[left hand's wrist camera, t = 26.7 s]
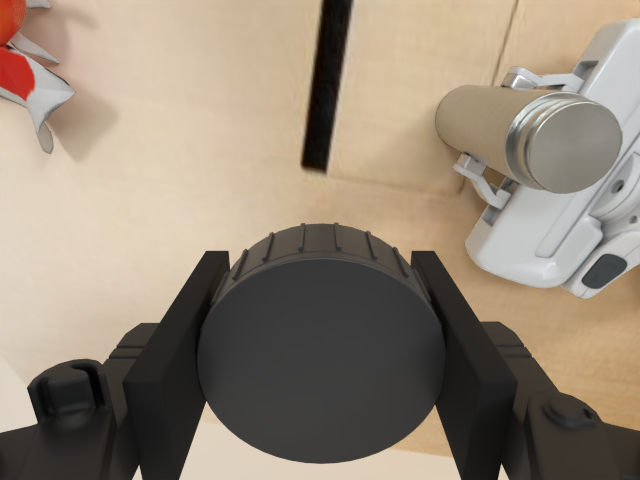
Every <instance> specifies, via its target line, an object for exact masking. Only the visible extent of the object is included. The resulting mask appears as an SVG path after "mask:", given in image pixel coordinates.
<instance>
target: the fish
mask: <svg viewBox="0 0 640 480" xmlns="http://www.w3.org/2000/svg"><path fill="white" fill-rule="evenodd" d="M26 6H27V7H28V8H50V3H49V2H48V1H47V0H0V97H2V98H5V99H8V100H10V101H13V102H16V103H18V104H20V105H22V106H24V107H26V108H27V109H28V111H29V113H30V115H31V118H32V120H33V123H34V126H35V130H36V134H37V136H38V139H39V142H40V145H41V147H42V149H43V151H45V152H46V153H49V154H51V152H52V150H53V139H52V134H51V131H50V130H49V128H48V127H47V125H46V124H45V122H44V121H45V120H46V119H47V118H48V116H49V115H50V114H51V113H52V112H53V111H54V110H55V109H57V108H58V107H59V106H60V105H62V104H63V103H64V102H65V101H67V100H68V99H69V98H70V97H71V96H72V95H73V94H75V93H76V92H75V91H74V90H73V89H72V88H71V87H70V86H69V84H68V83H67V82H66V81H65V80H64V79H62V78H60V77H59V76H57V75H56V74H54V73H52V72H51V71H49V70H48V69H46V68H44V67H43V66H42V65H40V64H39V63H37V62H36V61H34V60H33V59H31V58H29V57H28V56H26V55H24V54H23V53H21V52H19V51H17V50H16V49H14V48H12V47H10V46H9V45H6V44H7V43H8V41H10V42H11V44H12V45H13V46H14V47H16V48H17V49H19V50H20V51H23V52H26V53H29V54H32V55H35V56H39V57H42V58H45V59H47V60H50V61H53V62H56V63H59V61H58V60H57V59H55V58H54V57H53V56H51V55H50V54H49V53H48V52H46V51H45V50H44V49H42V48H41V47H40V46H38V45H36V44H35V43H33V42H32V41H30V40H28V39H27V38H26V37H24V36H23V35H22V34H21V33H20V32H19V31H18V30H19V29H20V27H21V26H22V24H23V21H24V18H25V14H26Z"/></svg>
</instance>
